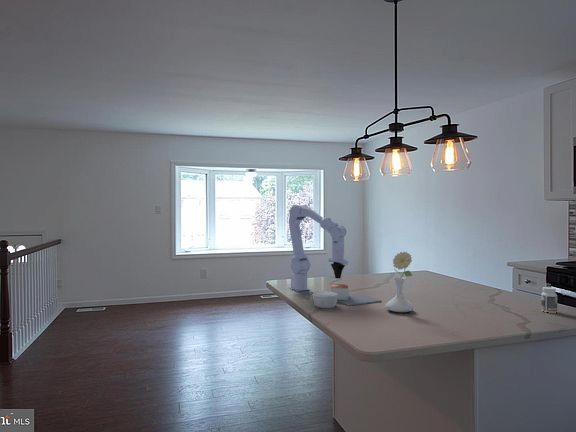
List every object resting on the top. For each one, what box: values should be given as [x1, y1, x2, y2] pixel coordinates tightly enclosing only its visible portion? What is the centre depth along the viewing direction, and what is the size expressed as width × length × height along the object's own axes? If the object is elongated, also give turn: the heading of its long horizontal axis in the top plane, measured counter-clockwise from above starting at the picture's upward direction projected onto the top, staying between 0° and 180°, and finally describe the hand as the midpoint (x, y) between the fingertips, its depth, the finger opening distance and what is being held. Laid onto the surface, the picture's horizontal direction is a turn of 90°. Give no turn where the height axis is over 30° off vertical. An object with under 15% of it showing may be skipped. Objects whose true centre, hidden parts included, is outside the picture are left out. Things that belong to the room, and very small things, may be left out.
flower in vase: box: [384, 251, 415, 313], centre depth 167 cm, size 13×11×25 cm
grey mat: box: [337, 292, 382, 307], centre depth 188 cm, size 18×18×1 cm
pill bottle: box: [540, 286, 558, 314], centre depth 167 cm, size 6×6×10 cm
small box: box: [330, 283, 349, 300], centre depth 189 cm, size 8×6×10 cm
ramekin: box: [312, 290, 338, 309], centre depth 176 cm, size 11×11×5 cm
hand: (337, 278), depth 198 cm, fingers closed
